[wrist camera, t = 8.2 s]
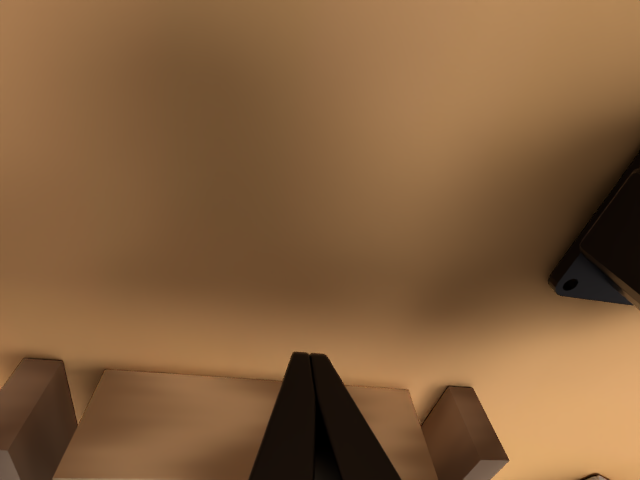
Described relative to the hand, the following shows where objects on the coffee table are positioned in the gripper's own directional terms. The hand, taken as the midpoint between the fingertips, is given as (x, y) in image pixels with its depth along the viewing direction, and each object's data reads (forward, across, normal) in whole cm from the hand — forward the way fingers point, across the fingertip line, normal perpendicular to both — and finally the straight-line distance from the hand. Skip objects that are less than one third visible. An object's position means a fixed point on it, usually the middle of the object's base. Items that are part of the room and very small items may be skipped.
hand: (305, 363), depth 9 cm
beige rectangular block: (+4, 0, +10) cm, 11 cm away
